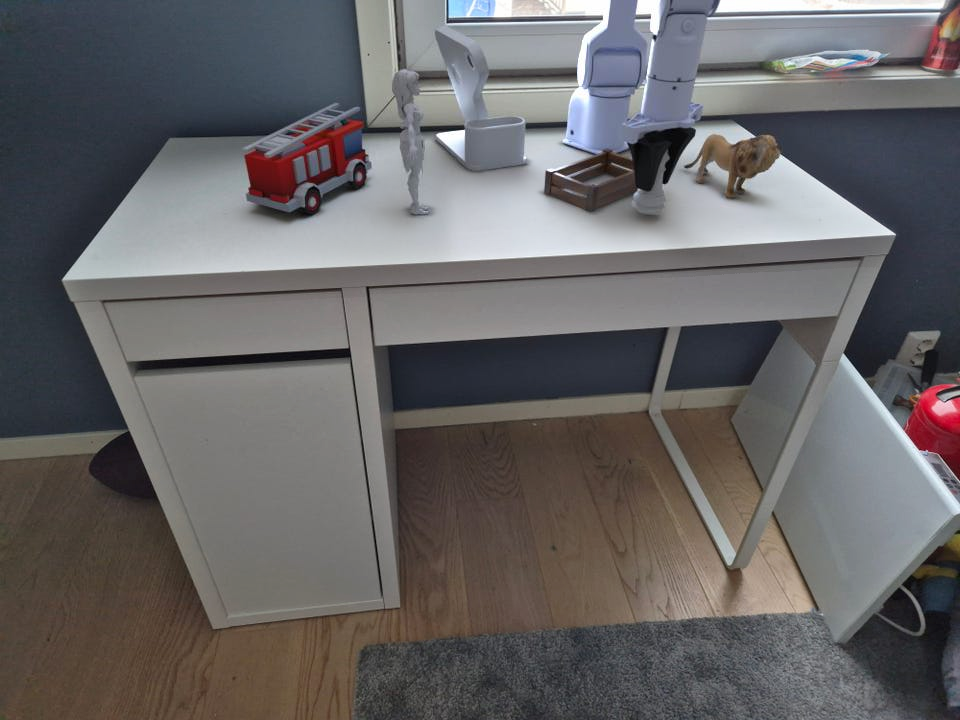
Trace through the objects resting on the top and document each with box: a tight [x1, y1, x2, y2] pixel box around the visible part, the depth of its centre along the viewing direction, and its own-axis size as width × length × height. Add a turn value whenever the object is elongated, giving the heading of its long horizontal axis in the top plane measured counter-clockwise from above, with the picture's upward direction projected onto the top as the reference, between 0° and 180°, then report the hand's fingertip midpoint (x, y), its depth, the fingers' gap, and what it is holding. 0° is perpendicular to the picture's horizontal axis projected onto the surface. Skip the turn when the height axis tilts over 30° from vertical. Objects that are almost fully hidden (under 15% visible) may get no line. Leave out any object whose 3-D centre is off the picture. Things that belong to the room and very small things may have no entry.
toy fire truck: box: [241, 102, 373, 216], centre depth 90 cm, size 9×19×10 cm, turn 152°
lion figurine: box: [683, 133, 782, 199], centre depth 94 cm, size 15×5×9 cm, turn 33°
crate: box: [543, 149, 638, 213], centre depth 94 cm, size 9×14×3 cm, turn 132°
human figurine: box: [391, 68, 429, 215], centre depth 83 cm, size 12×4×18 cm, turn 10°
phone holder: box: [434, 25, 527, 172], centre depth 103 cm, size 17×10×18 cm, turn 23°
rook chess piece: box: [631, 149, 670, 215], centre depth 85 cm, size 4×4×8 cm
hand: (651, 185), depth 86 cm, fingers closed on rook chess piece, 3 cm apart
